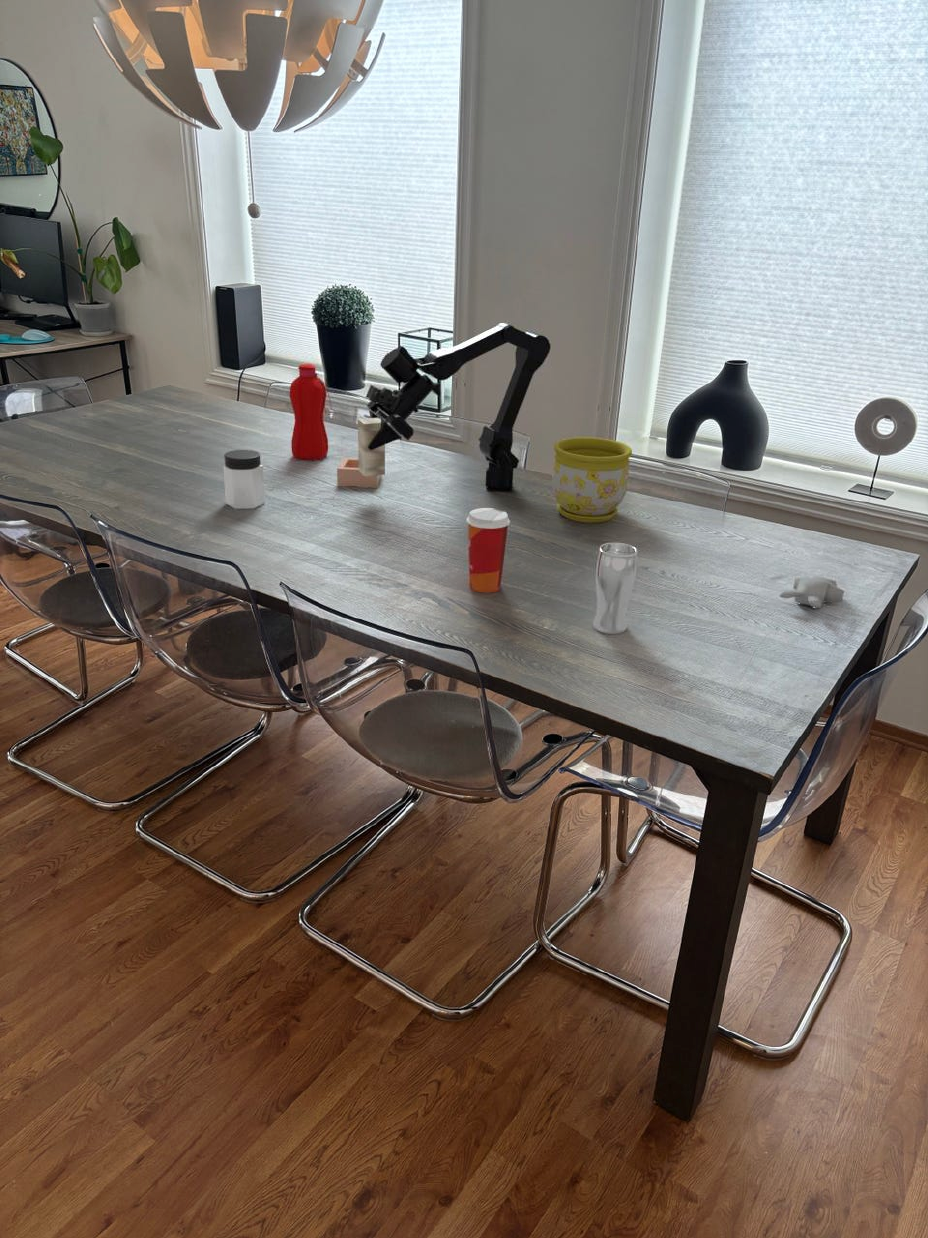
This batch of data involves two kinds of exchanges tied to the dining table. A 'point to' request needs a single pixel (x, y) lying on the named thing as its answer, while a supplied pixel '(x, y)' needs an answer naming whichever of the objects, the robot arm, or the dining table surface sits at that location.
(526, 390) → the robot arm
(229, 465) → the jar
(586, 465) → the flowerpot
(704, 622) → the dining table surface
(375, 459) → the birch block
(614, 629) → the beer glass
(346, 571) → the dining table surface
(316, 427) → the water bottle
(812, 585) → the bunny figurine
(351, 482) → the socket
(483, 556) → the coffee cup
